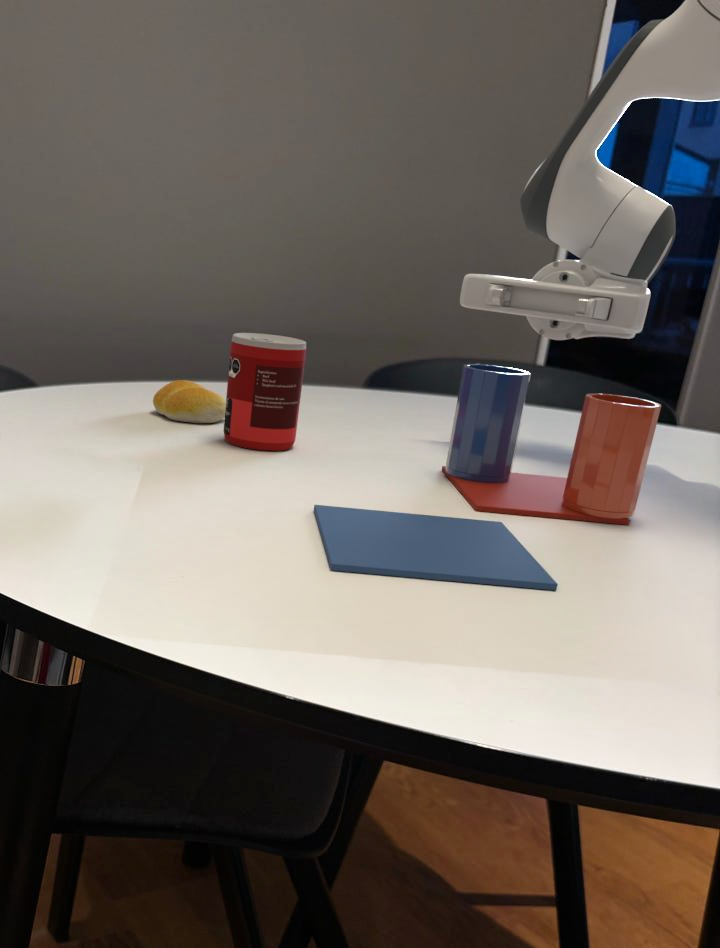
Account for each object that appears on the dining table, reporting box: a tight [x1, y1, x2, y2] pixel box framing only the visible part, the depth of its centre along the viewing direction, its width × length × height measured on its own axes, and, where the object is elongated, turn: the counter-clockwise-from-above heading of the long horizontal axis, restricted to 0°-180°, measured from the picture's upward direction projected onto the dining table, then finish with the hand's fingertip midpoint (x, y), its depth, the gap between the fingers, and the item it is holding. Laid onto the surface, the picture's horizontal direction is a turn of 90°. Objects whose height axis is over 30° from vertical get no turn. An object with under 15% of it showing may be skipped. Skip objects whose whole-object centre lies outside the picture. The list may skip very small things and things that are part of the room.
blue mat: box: [313, 504, 558, 591], centre depth 78 cm, size 16×16×1 cm
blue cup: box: [445, 363, 532, 483], centre depth 101 cm, size 6×6×10 cm
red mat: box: [441, 465, 631, 526], centre depth 98 cm, size 14×16×1 cm
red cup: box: [562, 392, 662, 519], centre depth 92 cm, size 6×6×10 cm
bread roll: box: [152, 379, 226, 424], centre depth 119 cm, size 8×9×4 cm
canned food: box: [223, 332, 307, 452], centre depth 107 cm, size 8×8×11 cm
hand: (538, 302), depth 106 cm, fingers open, 8 cm apart
